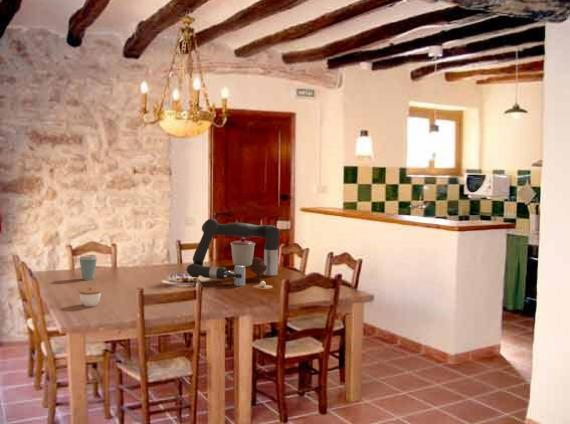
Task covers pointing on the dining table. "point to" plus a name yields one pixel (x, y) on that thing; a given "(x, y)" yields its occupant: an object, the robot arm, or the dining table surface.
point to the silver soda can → (241, 270)
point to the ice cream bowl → (258, 267)
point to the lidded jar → (90, 296)
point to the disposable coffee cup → (88, 266)
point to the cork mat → (262, 287)
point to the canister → (242, 252)
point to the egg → (262, 283)
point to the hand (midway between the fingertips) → (243, 275)
